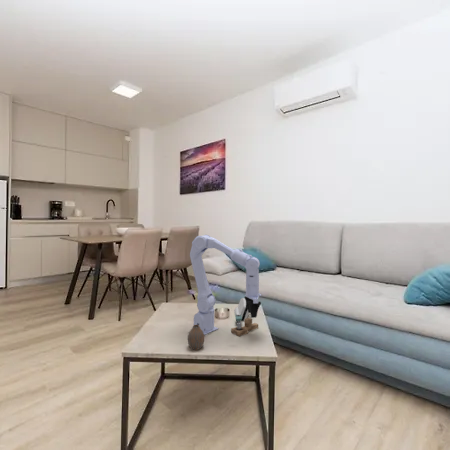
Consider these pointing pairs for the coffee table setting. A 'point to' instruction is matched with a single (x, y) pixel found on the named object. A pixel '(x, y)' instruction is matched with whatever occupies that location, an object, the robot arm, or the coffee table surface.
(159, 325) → the coffee table surface
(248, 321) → the link
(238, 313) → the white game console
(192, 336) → the vase
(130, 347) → the coffee table surface
